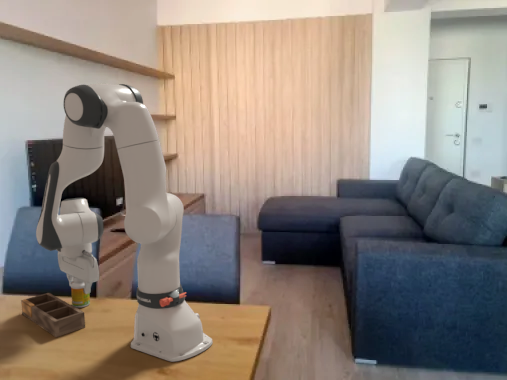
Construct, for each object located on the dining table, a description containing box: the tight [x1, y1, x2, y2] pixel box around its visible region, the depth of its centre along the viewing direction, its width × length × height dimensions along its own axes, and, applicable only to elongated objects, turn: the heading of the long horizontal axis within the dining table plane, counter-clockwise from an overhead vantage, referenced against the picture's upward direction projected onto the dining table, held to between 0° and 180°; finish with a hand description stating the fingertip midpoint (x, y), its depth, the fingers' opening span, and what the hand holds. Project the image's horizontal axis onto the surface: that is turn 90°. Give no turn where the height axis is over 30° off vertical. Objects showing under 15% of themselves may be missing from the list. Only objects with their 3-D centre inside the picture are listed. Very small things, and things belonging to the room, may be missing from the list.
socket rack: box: [20, 292, 86, 338], centre depth 137 cm, size 24×9×5 cm, turn 47°
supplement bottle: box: [70, 276, 91, 309], centre depth 148 cm, size 5×5×10 cm
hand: (79, 289), depth 148 cm, fingers open, 8 cm apart
